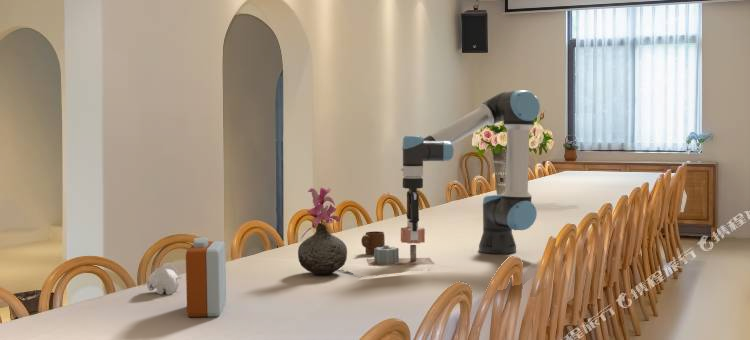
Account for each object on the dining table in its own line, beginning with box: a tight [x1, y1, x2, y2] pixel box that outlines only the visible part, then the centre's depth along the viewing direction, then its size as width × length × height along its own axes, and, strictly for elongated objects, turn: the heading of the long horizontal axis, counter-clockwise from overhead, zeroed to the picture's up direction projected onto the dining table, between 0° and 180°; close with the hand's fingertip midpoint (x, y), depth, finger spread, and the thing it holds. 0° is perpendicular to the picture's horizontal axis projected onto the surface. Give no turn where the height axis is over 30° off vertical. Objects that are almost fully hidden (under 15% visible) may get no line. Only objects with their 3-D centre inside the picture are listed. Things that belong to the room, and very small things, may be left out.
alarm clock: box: [185, 237, 227, 318], centre depth 222 cm, size 18×9×21 cm, turn 5°
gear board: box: [365, 244, 435, 267], centre depth 294 cm, size 24×14×7 cm, turn 95°
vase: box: [297, 187, 348, 277], centre depth 275 cm, size 17×18×30 cm
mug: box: [361, 230, 386, 256], centre depth 312 cm, size 12×8×9 cm, turn 143°
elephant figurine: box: [142, 261, 182, 295], centre depth 247 cm, size 10×12×9 cm
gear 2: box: [400, 226, 426, 245], centre depth 293 cm, size 9×9×5 cm
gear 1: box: [373, 246, 400, 264], centre depth 293 cm, size 9×9×5 cm
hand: (412, 238), depth 293 cm, fingers closed on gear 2, 9 cm apart
